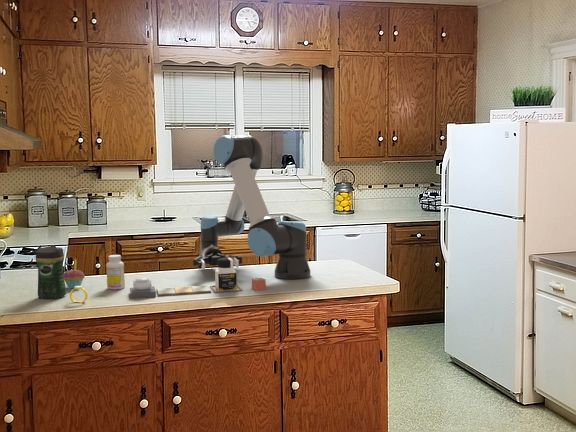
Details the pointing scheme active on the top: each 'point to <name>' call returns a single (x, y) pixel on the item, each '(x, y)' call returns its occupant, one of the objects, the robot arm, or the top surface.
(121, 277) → the supplement bottle
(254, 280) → the die
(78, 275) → the cupcake
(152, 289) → the popper base
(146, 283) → the dome
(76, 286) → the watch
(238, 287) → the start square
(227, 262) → the medicine bottle
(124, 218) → the top surface
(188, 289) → the track
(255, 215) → the robot arm
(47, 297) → the coffee jar
